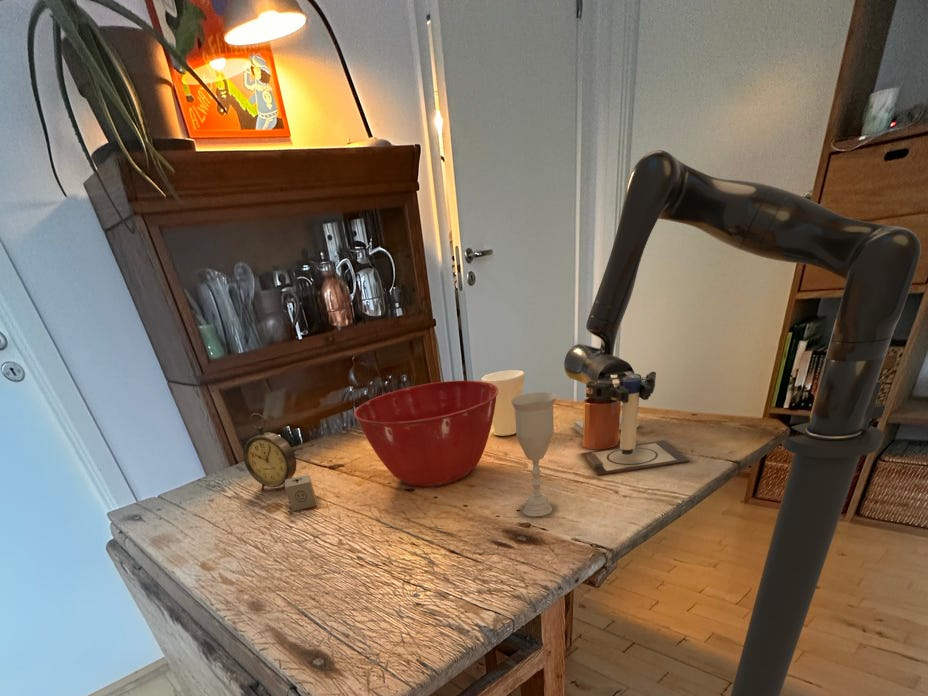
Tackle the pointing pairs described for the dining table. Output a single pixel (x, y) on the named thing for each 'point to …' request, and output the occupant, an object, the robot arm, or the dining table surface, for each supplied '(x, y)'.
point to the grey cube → (300, 492)
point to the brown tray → (633, 458)
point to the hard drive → (579, 425)
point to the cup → (505, 399)
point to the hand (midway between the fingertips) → (636, 395)
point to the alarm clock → (269, 458)
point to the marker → (630, 416)
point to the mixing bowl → (430, 430)
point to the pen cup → (601, 423)
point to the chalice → (535, 440)
